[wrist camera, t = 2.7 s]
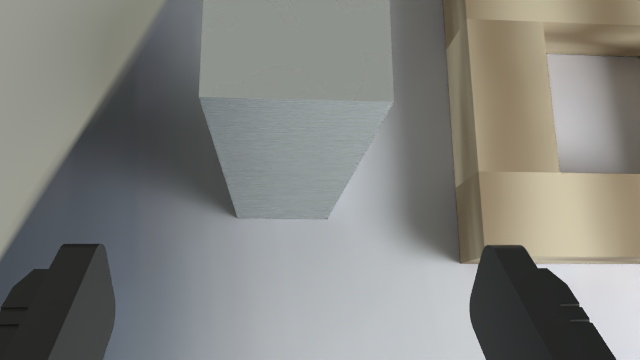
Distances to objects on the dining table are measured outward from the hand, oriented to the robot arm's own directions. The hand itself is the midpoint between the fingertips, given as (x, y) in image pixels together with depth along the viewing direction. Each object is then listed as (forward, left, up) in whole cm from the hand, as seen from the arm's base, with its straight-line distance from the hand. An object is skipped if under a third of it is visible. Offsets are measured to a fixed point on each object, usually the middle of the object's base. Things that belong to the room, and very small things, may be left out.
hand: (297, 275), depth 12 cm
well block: (-15, -8, -13) cm, 21 cm away
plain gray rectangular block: (0, -5, -13) cm, 14 cm away
